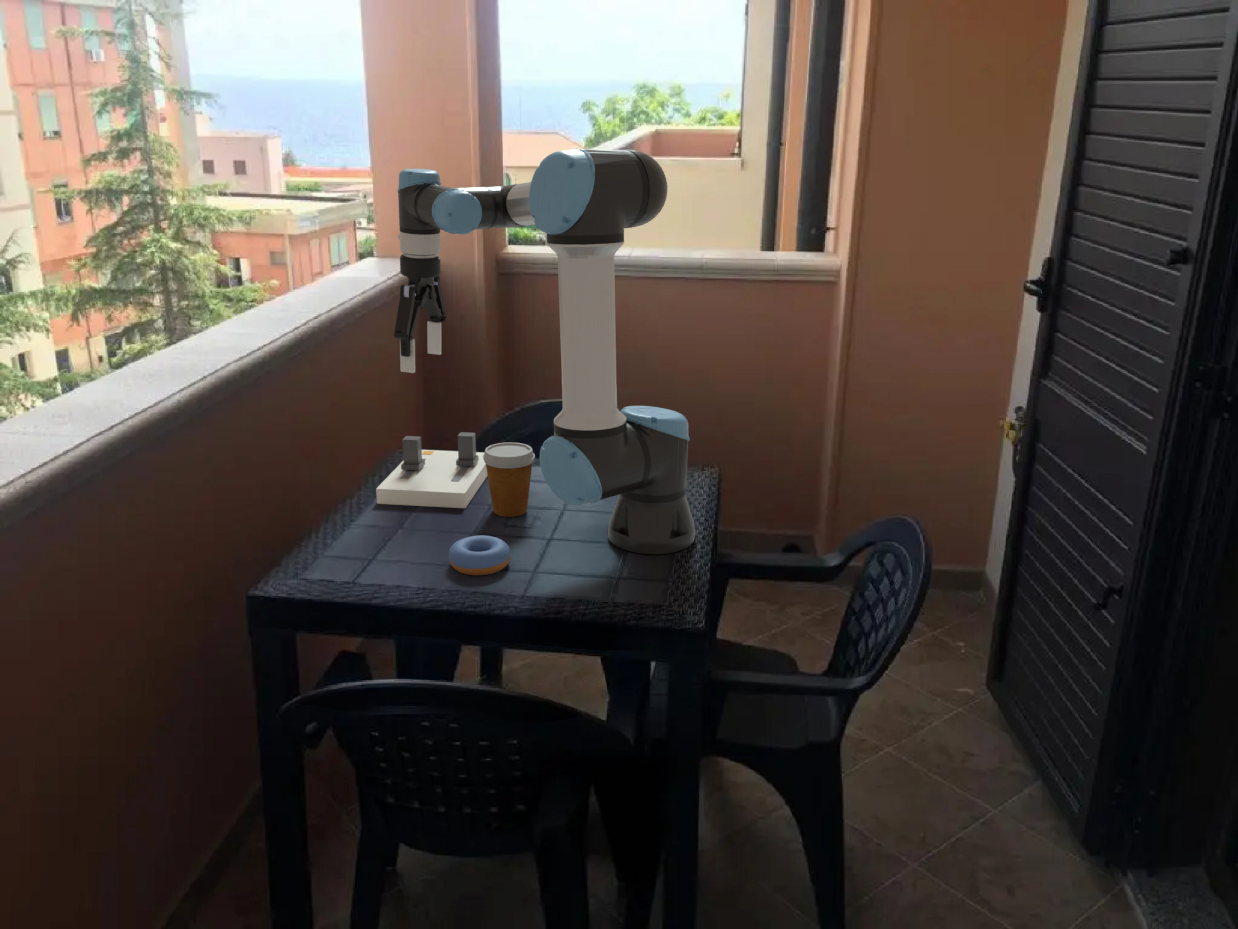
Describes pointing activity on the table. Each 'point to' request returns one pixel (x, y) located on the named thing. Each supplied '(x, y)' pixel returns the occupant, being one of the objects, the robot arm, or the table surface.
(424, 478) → the panel
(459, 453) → the block
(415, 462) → the block
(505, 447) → the disposable coffee cup
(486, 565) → the doughnut
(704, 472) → the table surface
